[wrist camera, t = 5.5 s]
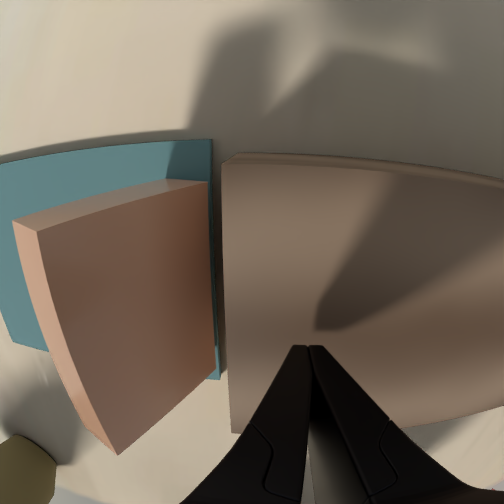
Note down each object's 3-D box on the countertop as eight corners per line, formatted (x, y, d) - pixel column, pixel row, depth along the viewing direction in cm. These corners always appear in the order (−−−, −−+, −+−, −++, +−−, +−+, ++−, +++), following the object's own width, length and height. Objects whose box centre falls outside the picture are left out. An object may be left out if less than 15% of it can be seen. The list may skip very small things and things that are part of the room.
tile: (117, 455, 8) (84, 426, 9) (216, 368, 13) (182, 352, 14) (36, 231, 6) (11, 220, 6) (207, 181, 10) (165, 178, 11)
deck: (539, 345, 14) (568, 381, 10) (240, 368, 15) (231, 433, 11) (584, 201, 10) (628, 223, 6) (238, 152, 11) (221, 164, 7)
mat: (221, 374, 15) (219, 380, 15) (16, 338, 16) (12, 341, 16) (211, 139, 11) (209, 139, 11) (-27, 170, 12) (-31, 172, 11)
